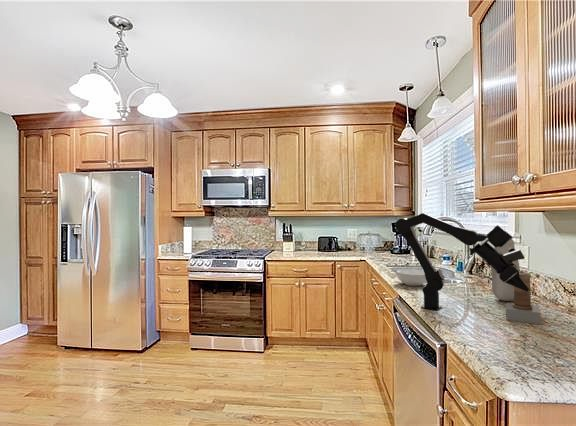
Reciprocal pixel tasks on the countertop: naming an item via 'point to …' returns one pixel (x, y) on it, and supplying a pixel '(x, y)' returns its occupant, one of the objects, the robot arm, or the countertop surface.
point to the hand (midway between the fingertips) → (526, 288)
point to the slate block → (523, 314)
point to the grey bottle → (498, 286)
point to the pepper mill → (522, 293)
